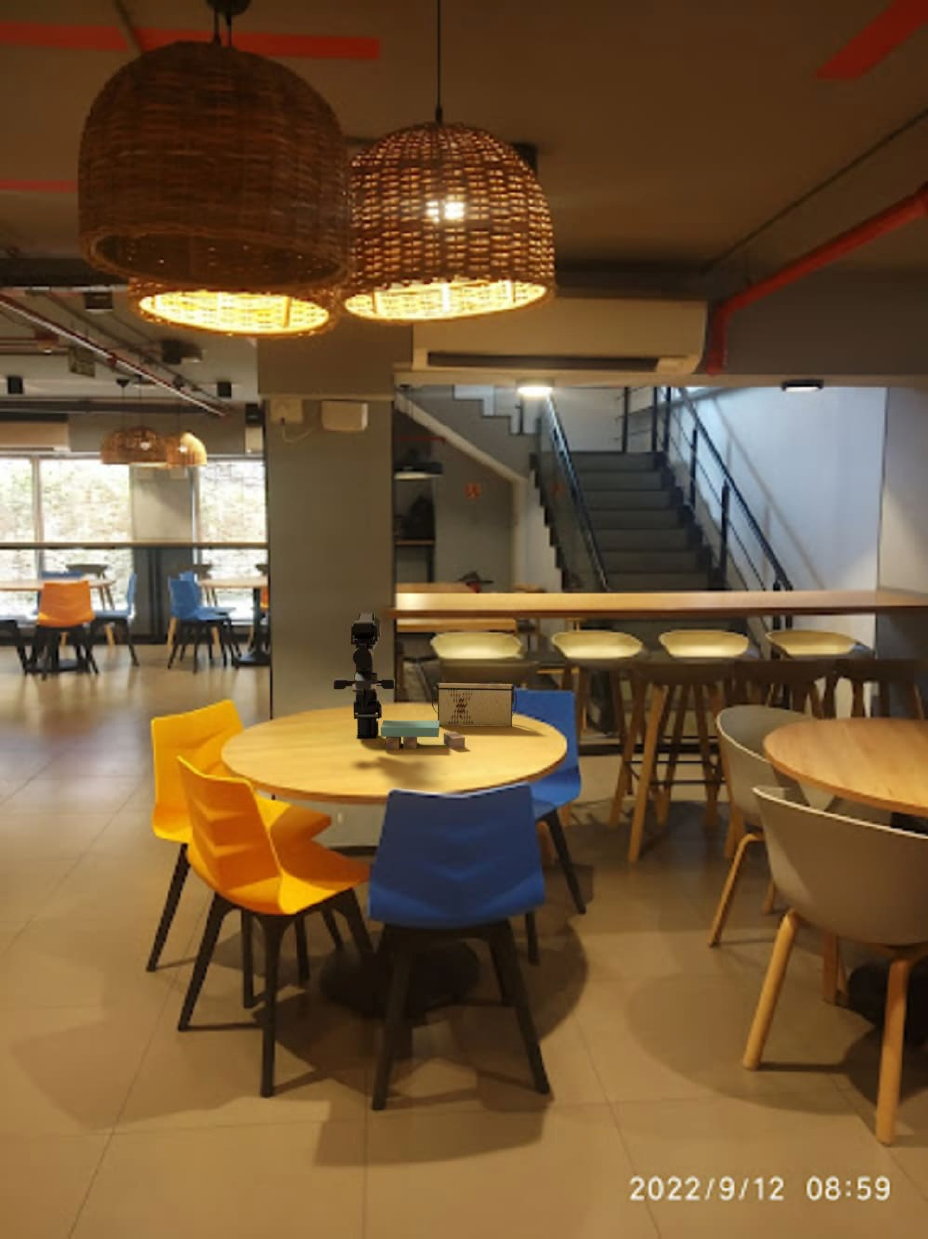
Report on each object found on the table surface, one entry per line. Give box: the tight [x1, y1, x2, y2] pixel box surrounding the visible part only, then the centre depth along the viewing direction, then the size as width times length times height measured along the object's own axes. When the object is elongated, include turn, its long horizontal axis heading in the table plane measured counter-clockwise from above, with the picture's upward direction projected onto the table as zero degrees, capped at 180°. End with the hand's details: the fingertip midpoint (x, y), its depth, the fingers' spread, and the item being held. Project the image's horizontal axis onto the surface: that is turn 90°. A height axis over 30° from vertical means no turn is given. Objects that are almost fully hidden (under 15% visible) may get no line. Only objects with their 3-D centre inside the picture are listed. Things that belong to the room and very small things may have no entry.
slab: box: [380, 719, 440, 738], centre depth 282 cm, size 18×9×3 cm, turn 90°
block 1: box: [385, 737, 402, 751], centre depth 281 cm, size 4×8×4 cm, turn 178°
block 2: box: [402, 737, 418, 750], centre depth 282 cm, size 4×8×4 cm, turn 0°
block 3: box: [443, 731, 466, 751], centre depth 282 cm, size 8×4×4 cm, turn 23°
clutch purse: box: [431, 682, 518, 727], centre depth 309 cm, size 30×7×15 cm, turn 87°
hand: (364, 710), depth 279 cm, fingers closed
